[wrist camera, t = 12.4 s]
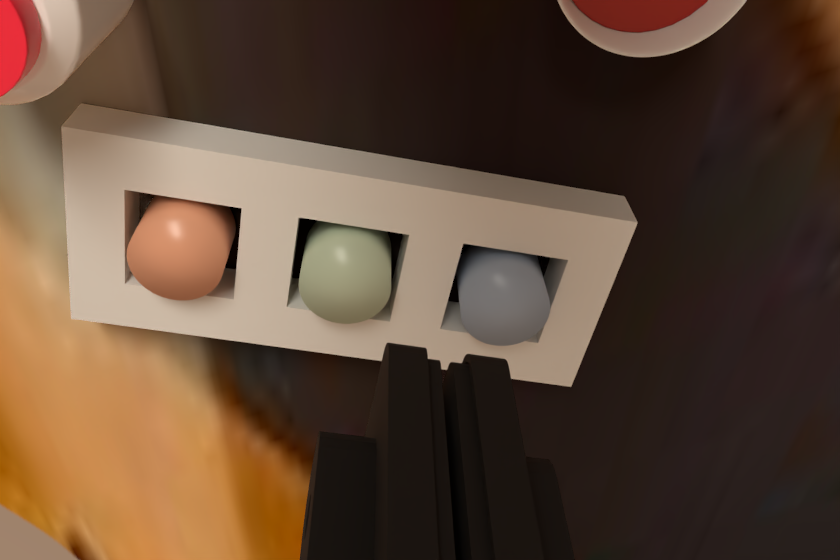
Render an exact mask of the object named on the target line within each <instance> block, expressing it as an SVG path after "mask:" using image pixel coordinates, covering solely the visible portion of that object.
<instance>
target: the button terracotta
mask: <svg viewBox="0 0 840 560" xmlns="http://www.w3.org/2000/svg"><path fill="white" fill-rule="evenodd" d="M235 232H236V223H235V219H234V215H233V213H232V211H231V209H230V208H229V206H224V205H217V204H211V203H205V202H198V201H192V200H186V199H180V198H173V197H167V196H161V195H155V196H154V197H153V199H152V200H151V202H150V203H149V205H148V207H147V209H146V211H145V213H144V215H143V217H142V219H141V221H140V222H139V224H138V226H137V228H136V230H135V232H134V234H133V236H132V238H131V240H130V242H129V244H128V248H127V261H128V265H129V268H130V270H131V272H132V274H133V276H134V277H135V278H136V280H137V281H138V282H139V283H140V284H141V285H142V286H144V287H145V288H146V289H148V290H149V291H151V292H152V293H154V294H156V295H159V296H161V297H164V298H167V299H172V300H193V299H197V298H200V297H203V296H205V295H207V294H208V293H210V292H211V291H212V290H213V289H214V288H215V287H216V286H217V285H218V284H219V282H220V280H221V278H222V275H223V272H224V269H225V265H226V262H227V259H228V256H229V253H230V250H231V246H232V243H233V240H234V237H235Z"/></svg>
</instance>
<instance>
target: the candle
mask: <svg viewBox="0 0 840 560" xmlns="http://www.w3.org/2000/svg"><path fill="white" fill-rule="evenodd" d="M557 1H558V3H559V5H560V7H561V9H562V11H563V13H564V14H565V16H566V18H567V19H568V20H569V22H570V23H571V24H572V26H573V27H574V28H575V29H576V30H577V31H578V32H579V33H580V34H581V35H582V36H584V37H585V38H586V39H587V40H589V41H590V42H592V43H593V44H595V45H597V46H598V47H600V48H602V49H605V50H607V51H610V52H612V53H616V54H619V55H624V56H630V57H656V56H662V55H667V54H671V53H675V52H678V51H681V50H684V49H686V48H688V47H691V46H693V45H695V44H697V43H699V42H701V41H702V40H704V39H706V38H707V37H709V36H710V35H712V34H713V33H715V32H716V31H717V30H719V29H720V28H721V27H722V26H723V25H725V24H726V23H727V22H728V21H729V20H730V19H731V18H732V17H733V16H734V15H735V14H736V13H737V12H738V11H739V10H740V8H741V7H742V6H743V5H744V3H745V2H746V1H747V0H557Z"/></svg>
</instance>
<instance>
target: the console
mask: <svg viewBox="0 0 840 560" xmlns="http://www.w3.org/2000/svg"><path fill="white" fill-rule="evenodd" d="M61 132H62V151H63V171H64V190H65V209H66V229H67V248H68V267H69V287H70V306H71V319H77V320H85V321H92V322H99V323H107V324H114V325H121V326H128V327H136V328H143V329H150V330H158V331H165V332H172V333H180V334H187V335H194V336H202V337H209V338H216V339H224V340H231V341H238V342H246V343H253V344H260V345H268V346H275V347H282V348H290V349H297V350H304V351H312V352H319V353H326V354H334V355H341V356H348V357H356V358H363V359H370V360H378V361H382V358H383V353H384V349H385V346H386V343H395V344H402V345H409V346H416V347H424V348H426V349H427V354H428V359H434V360H440V362H441V369H444V370H447V369H448V366H449V364H450V362H456V363H462V362H463V359H464V357H465V355H466V354H474V355H481V356H488V357H495V358H502V359H506V360H507V362H508V365H509V370H510V376H511V379H517V380H524V381H532V382H539V383H546V384H554V385H561V386H568V387H571V386H572V383H573V381H574V378H575V376H576V374H577V371H578V369H579V366H580V364H581V361H582V359H583V356H584V354H585V351H586V349H587V346H588V344H589V342H590V339H591V337H592V334H593V332H594V329H595V327H596V324H597V322H598V319H599V317H600V314H601V312H602V310H603V307H604V305H605V302H606V300H607V297H608V295H609V292H610V290H611V287H612V285H613V282H614V280H615V277H616V275H617V273H618V270H619V268H620V265H621V263H622V260H623V258H624V255H625V253H626V250H627V248H628V245H629V243H630V241H631V238H632V236H633V233H634V231H635V228H636V226H637V223H638V222H637V220H636V218H635V216H634V214H633V212H632V210H631V208H630V206H629V204H628V202H627V200H626V198H625V196H620V195H614V194H609V193H603V192H597V191H591V190H585V189H579V188H574V187H568V186H562V185H556V184H550V183H544V182H539V181H533V180H527V179H521V178H515V177H509V176H503V175H498V174H492V173H486V172H480V171H474V170H468V169H463V168H457V167H451V166H445V165H439V164H433V163H428V162H422V161H416V160H410V159H404V158H398V157H393V156H387V155H381V154H375V153H369V152H363V151H358V150H352V149H346V148H340V147H334V146H328V145H323V144H317V143H311V142H305V141H299V140H293V139H288V138H282V137H276V136H270V135H264V134H258V133H252V132H247V131H241V130H235V129H229V128H223V127H217V126H212V125H206V124H200V123H194V122H188V121H182V120H177V119H171V118H165V117H159V116H153V115H147V114H142V113H136V112H130V111H124V110H118V109H112V108H107V107H101V106H95V105H89V104H83V103H81V104H80V105H79V106H78V107H77V108H76V109H75V111H74V112H73V113H72V114H71V115H70V117H69V118H68V119H67V120H66V121H65V122H64V124H63V125H62V126H61ZM139 192H142V193H148V194H154V195H161V196H167V197H173V198H180V199H186V200H192V201H198V202H205V203H211V204H217V205H224V206H230V207H236V208H242V210H241V222H240V233H239V244H238V256H237V267H236V269H230V268H225V269H224V272H223V275H222V278H221V280H220V282H219V284H218V285H217V286H216V287H215V288H214V289H213V290H212V291H211V292H210V293H208V294H207V295H205V296H203V297H200V298H197V299H193V300H172V299H167V298H164V297H161V296H159V295H156V294H154V293H152V292H151V291H149V290H148V289H146V288H145V287H144V286H142V285H141V284H140V283H139V282H138V281H137V280H136V278H135V277H134V276H133V274H132V272H131V270H130V268H129V265H128V261H127V248H128V244H129V242H130V240H131V238H132V236H133V234H134V232H135V230H136V228H137V226H138V224H139ZM300 218H306V219H312V220H318V221H325V222H331V223H337V224H344V225H350V226H356V227H363V228H369V229H375V230H381V231H388V232H394V233H400V234H403V236H402V240H401V245H400V249H399V254H398V258H397V263H396V267H395V272H394V277H393V281H392V286H391V294H390V297H389V300H388V302H387V304H386V305H385V307H384V308H383V309H382V310H381V311H380V312H379V313H378V314H376V315H375V316H373V317H372V318H370V319H368V320H365V321H362V322H358V323H352V324H341V323H335V322H331V321H327V320H325V319H323V318H321V317H319V316H317V315H316V314H314V313H313V312H312V311H311V310H310V309H309V308H308V307H307V306H306V305H305V303H304V302H303V300H302V298H301V295H300V292H299V279H297V278H292V275H293V267H294V260H295V253H296V245H297V238H298V230H299V223H300ZM463 244H470V245H476V246H482V247H489V248H495V249H501V250H508V251H514V252H520V253H527V254H533V255H539V256H546V257H550V260H549V263H548V266H547V269H546V272H545V274H544V277H543V278H544V282H545V285H546V289H547V293H548V296H549V300H550V314H549V317H548V319H547V322H546V323H545V325H544V326H543V328H542V329H541V330H540V331H539V332H538V333H537V334H536V335H534V336H533V337H531V338H530V339H528V340H526V341H524V342H521V343H518V344H514V345H508V346H496V345H490V344H486V343H483V342H481V341H479V340H477V339H476V338H474V337H473V336H472V335H470V334H469V332H468V331H467V330H466V329H465V327H464V325H463V323H462V319H461V313H460V304H459V302H452V301H448V298H449V295H450V291H451V287H452V284H453V280H454V276H455V273H456V269H457V265H458V261H459V258H460V254H461V250H462V247H463Z"/></svg>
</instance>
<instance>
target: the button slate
mask: <svg viewBox="0 0 840 560" xmlns="http://www.w3.org/2000/svg"><path fill="white" fill-rule="evenodd" d="M456 278H457V287H458V296H459V304H460V313H461V319H462V323H463V325H464V327H465V329H466V330H467V331H468V332H469V334H470V335H472V336H473V337H474V338H476V339H477V340H479V341H481V342H483V343H486V344H490V345H496V346H508V345H514V344H518V343H521V342H524V341H526V340H528V339H530V338H531V337H533V336H534V335H536V334H537V333H538V332H539V331H540V330H541V329H542V328H543V326H544V325H545V323H546V322H547V319H548V317H549V314H550V300H549V296H548V293H547V289H546V285H545V282H544V278H543V275H542V271H541V267H540V264H539V260H538V257H537V255H533V254H527V253H520V252H514V251H508V250H501V249H495V248H489V247H482V246H476V245H470V246H469V247H468V248H467V249H466V250H465V251H464V252H463V254H462V255H461V257H460V259H459V261H458V265H457V269H456Z"/></svg>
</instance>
